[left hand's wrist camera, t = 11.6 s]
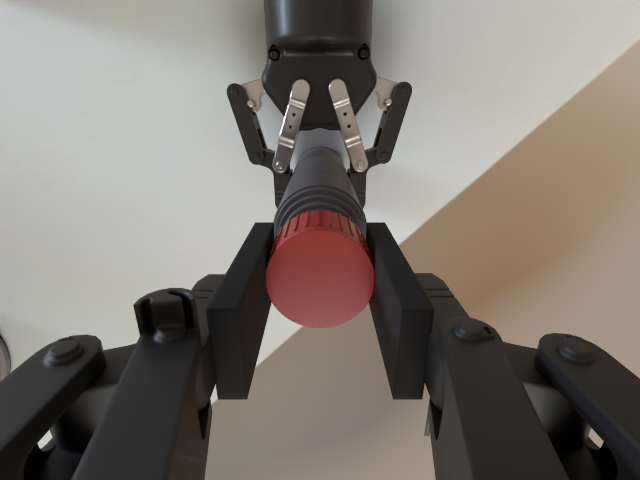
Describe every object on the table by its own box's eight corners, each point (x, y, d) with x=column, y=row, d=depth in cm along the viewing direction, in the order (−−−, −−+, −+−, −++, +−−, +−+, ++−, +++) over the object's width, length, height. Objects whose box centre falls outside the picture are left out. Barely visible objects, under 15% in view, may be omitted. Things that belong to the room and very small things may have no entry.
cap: (349, 305, 15) (355, 340, 13) (262, 282, 15) (252, 314, 12) (381, 224, 14) (393, 247, 12) (286, 196, 13) (279, 214, 11)
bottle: (335, 199, 35) (359, 343, 13) (291, 186, 35) (242, 313, 13) (349, 154, 34) (404, 236, 12) (303, 140, 33) (272, 197, 11)
